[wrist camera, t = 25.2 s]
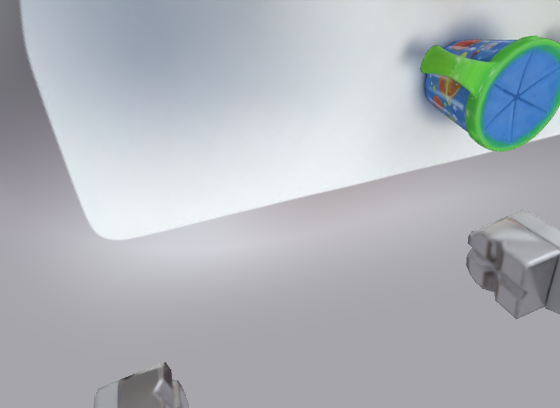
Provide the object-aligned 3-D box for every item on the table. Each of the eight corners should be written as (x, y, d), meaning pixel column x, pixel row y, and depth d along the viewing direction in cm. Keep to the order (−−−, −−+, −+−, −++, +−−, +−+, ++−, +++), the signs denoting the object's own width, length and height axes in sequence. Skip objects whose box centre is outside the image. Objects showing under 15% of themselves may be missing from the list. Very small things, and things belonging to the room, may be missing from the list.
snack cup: (518, 62, 47) (601, 83, 39) (463, 140, 50) (529, 174, 42) (435, -10, 39) (517, -2, 31) (377, 87, 43) (437, 117, 34)
